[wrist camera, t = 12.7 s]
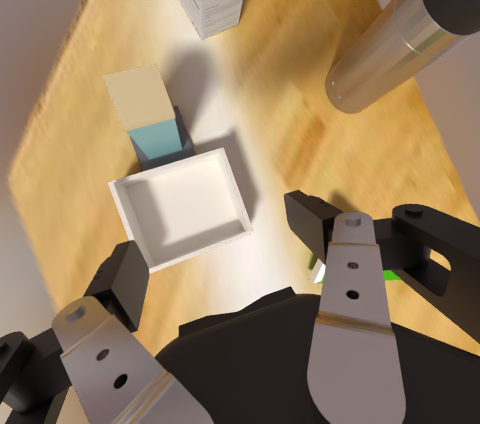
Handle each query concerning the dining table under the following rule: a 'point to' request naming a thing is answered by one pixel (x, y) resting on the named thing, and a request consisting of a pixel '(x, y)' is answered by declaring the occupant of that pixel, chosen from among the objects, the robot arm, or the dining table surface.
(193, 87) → the dining table surface
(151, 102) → the tea tin
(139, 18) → the dining table surface
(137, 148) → the coaster
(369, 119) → the dining table surface
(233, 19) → the supplement box
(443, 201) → the dining table surface
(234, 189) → the tote
